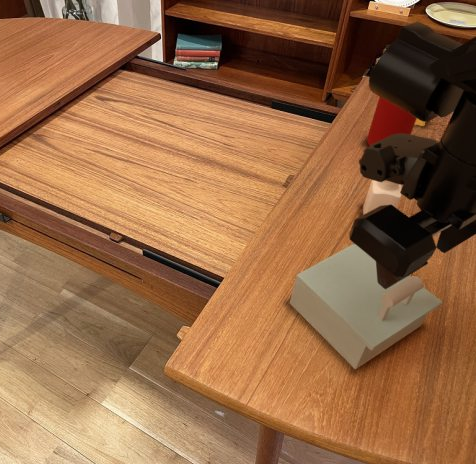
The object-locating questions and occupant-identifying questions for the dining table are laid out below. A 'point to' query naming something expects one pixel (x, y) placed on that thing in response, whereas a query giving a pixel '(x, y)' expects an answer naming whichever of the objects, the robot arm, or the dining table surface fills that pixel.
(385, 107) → the beverage can
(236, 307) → the dining table surface
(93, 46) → the dining table surface
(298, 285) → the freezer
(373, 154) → the robot arm
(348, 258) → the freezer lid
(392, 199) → the pepper shaker
